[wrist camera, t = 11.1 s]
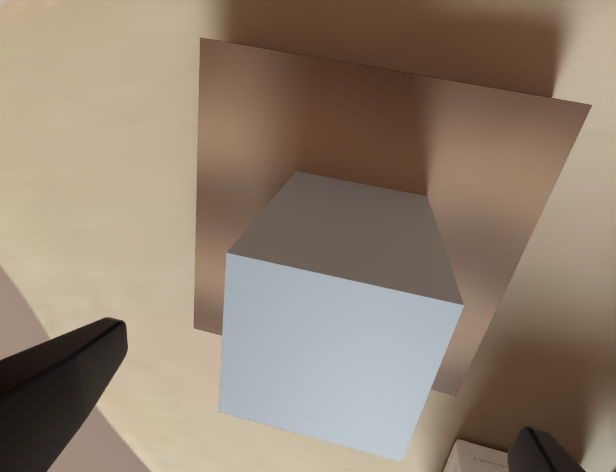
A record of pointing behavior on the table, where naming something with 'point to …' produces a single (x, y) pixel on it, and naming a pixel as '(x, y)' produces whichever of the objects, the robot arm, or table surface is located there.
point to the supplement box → (475, 459)
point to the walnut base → (377, 164)
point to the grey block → (337, 314)
